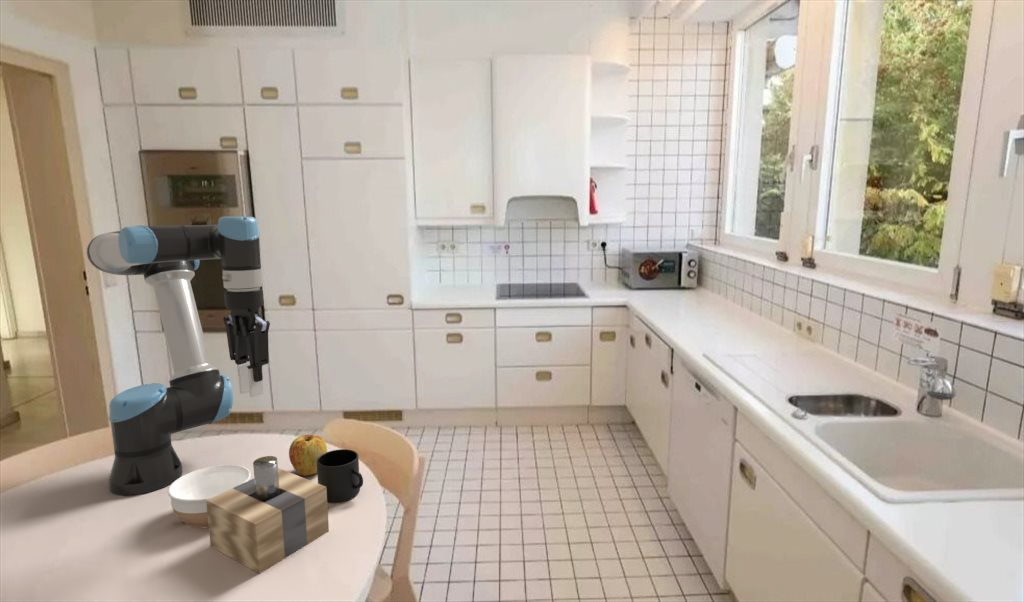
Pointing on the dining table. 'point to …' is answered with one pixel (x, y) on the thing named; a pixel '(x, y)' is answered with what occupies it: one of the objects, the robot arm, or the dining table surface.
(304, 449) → the apple
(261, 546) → the socket block
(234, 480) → the bowl
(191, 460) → the dining table surface
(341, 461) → the mug
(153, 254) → the robot arm
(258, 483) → the peg
